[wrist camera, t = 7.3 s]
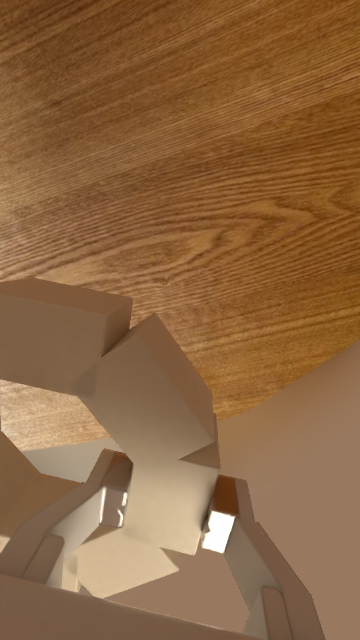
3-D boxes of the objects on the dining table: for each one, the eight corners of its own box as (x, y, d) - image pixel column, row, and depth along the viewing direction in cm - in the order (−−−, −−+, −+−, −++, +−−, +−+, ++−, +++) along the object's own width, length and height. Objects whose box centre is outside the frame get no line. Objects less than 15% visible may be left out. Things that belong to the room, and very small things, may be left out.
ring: (241, 319, 10) (257, 346, 7) (180, 547, 14) (174, 627, 11) (-68, 256, 10) (-172, 257, 8) (-47, 492, 14) (-111, 553, 11)
